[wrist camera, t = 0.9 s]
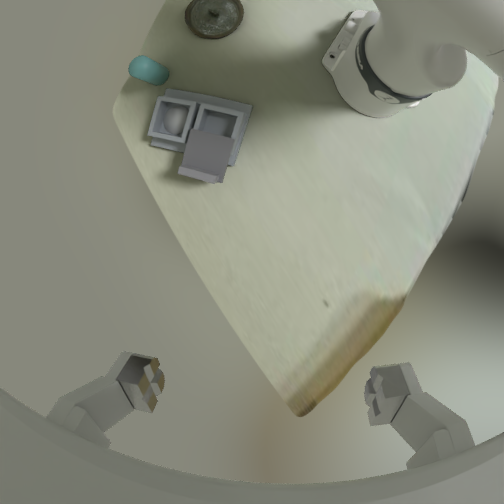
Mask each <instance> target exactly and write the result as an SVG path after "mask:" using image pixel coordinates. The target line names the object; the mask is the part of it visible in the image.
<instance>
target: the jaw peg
mask: <svg viewBox="0 0 504 504" xmlns="http://www.w3.org/2000/svg"><path fill="white" fill-rule="evenodd" d="M129 74H130V75H131V76H133V77H135V78H138V79H141V80H143V81H146V82H148V83H151V84H153V85H161V84H163V83H164V82H165V81H166V80H167V79H168V76H169V71H168V69H167V68H166V67H164V66H162V65H161V64H159V63H157V62H155V61H154V60H152V59H150V58H148V57H146V56H143V55H142V56H138V57H136V58H134V59H133V60H132V62H131V63H130V65H129Z"/></svg>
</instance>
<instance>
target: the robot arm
mask: <svg viewBox="0 0 504 504" xmlns="http://www.w3.org/2000/svg"><path fill="white" fill-rule="evenodd" d="M373 1H374V3H375V4H376V6H377V8H378V10H379V12H376V11H364V10H355V11H353V12H352V14H351V15H350V16H349V18H348V19H347V21H346V22H345V24H344V26H343V27H342V29H341V30H340V32H339V33H338V35H337V36H336V38H335V39H334V41H333V43H332V44H331V46H330V47H329V49H328V50H327V52H326V54H325V55H324V57H323V59H322V64H323V66H324V67H325V68H326V69H327V70H328V72H329V73H330V74H331V75H332V77H333V79H334V82H335V85H336V87H337V90H338V91H339V93H340V95H341V96H342V98H343V99H344V100H345V101H346V102H347V103H348V104H349V105H350V106H351V107H352V108H354V109H355V110H357V111H358V112H360V113H362V114H364V115H367V116H370V117H376V118H384V117H389V116H392V115H394V114H396V113H398V112H399V111H401V110H402V109H404V108H412V107H415V106H417V105H418V104H419V101H420V100H423V99H425V98H427V97H428V96H430V95H431V94H432V93H434V92H437V91H441V90H444V89H448V88H451V87H453V86H455V85H457V84H458V83H459V82H460V80H461V79H462V78H463V76H464V74H465V71H466V68H467V54H466V50H467V51H468V52H470V53H472V54H474V55H475V56H476V57H477V58H479V59H480V60H481V61H482V62H483V63H484V64H486V65H487V66H488V67H489V68H490V69H491V70H492V71H493V72H494V73H495V74H497V75H498V76H499V77H500V78H501V79H502V80H503V81H504V0H373ZM465 49H466V50H465ZM330 55H332V56H334V58H331V57H330ZM159 365H160V363H159V361H158V358H155V357H150V356H145V355H140V354H136V353H131V352H126V351H124V352H122V353H121V354H120V355H119V357H118V358H117V360H116V361H115V362H114V364H113V365H112V367H111V368H110V370H109V371H108V373H107V374H106V376H105V377H103V376H101V377H99V378H97V379H95V380H94V381H92V382H90V383H88V384H86V385H84V386H82V387H80V388H78V389H76V390H74V391H72V392H70V393H68V394H66V395H64V396H62V397H60V398H59V400H58V401H57V402H56V404H55V405H54V407H53V408H52V410H51V411H50V413H49V414H48V416H47V417H44V416H43V415H41V414H39V413H38V412H36V411H35V410H33V409H31V408H30V407H28V406H27V405H25V404H24V403H22V402H21V401H20V400H18V399H16V398H15V397H14V396H12V395H11V394H10V393H8V392H7V391H6V390H5V389H3V388H2V387H0V504H504V432H503V433H501V434H499V435H497V436H495V437H493V438H491V439H489V440H487V441H485V442H483V443H481V444H479V445H476V446H475V444H474V441H473V438H472V436H471V433H470V431H469V428H468V425H467V423H466V421H465V420H464V419H463V418H461V417H460V416H458V415H457V414H456V413H454V412H453V411H451V410H450V409H449V408H447V407H446V406H445V405H443V404H442V403H440V402H439V401H438V400H436V399H435V398H434V397H432V396H431V395H429V394H428V393H426V392H424V393H423V391H422V389H421V387H420V384H419V382H418V379H417V377H416V375H415V372H414V370H413V368H412V365H411V364H410V363H409V362H407V363H400V364H391V365H383V366H374V367H373V368H372V369H371V371H370V376H371V378H370V379H369V380H368V381H367V382H366V386H365V393H364V394H365V402H366V404H367V405H368V406H369V407H370V408H369V411H368V417H369V422H370V426H374V425H382V424H390V423H391V426H392V427H393V428H394V429H395V430H396V431H397V432H398V433H399V434H400V435H401V436H402V437H403V439H404V440H405V441H406V442H407V443H408V444H409V445H410V446H411V447H412V448H413V449H414V450H415V451H416V453H415V454H414V455H413V456H412V458H410V459H409V461H408V462H407V464H406V465H407V470H404V471H400V472H395V473H391V474H386V475H381V476H376V477H370V478H364V479H358V480H349V481H340V482H329V483H313V484H271V483H269V484H268V483H253V482H243V481H234V480H226V479H219V478H212V477H207V476H201V475H196V474H191V473H186V472H182V471H178V470H174V469H169V468H166V467H162V466H158V465H155V464H152V463H148V462H145V461H142V460H139V459H135V458H133V457H130V456H127V455H124V454H122V453H119V452H116V451H114V450H111V449H109V446H110V444H111V442H110V440H109V439H108V438H107V437H106V435H105V434H104V432H105V431H106V430H108V429H109V428H111V427H112V426H113V425H115V424H116V423H117V422H118V421H120V420H122V419H123V418H124V417H126V416H127V415H128V414H130V413H131V412H132V411H134V409H136V410H140V411H145V412H149V413H153V410H154V408H155V406H156V404H157V402H158V400H157V397H156V396H158V395H159V394H161V393H162V391H163V388H164V383H165V380H164V379H165V378H164V374H163V372H162V371H161V370H160V369H159V368H158V367H159Z"/></svg>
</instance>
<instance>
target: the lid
mask: <svg viewBox="0 0 504 504" xmlns="http://www.w3.org/2000/svg"><path fill="white" fill-rule="evenodd" d="M243 14H244V9H243V6H242V4H241V2H240V0H193V1H192V2H191V3H190V4H189V5H188V7H187V9H186V11H185V21H186V24H187V25H188V27H189V28H190V30H191V31H192V32H193V33H194V34H195V35H198V36H200V37H202V38H212V39H217V38H221V37H225V36H227V35H229V34H231V33H232V32H233V31H234V30H236V29H237V27H238V26H239V25H240V23H241V21H242V18H243Z"/></svg>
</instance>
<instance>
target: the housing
mask: <svg viewBox="0 0 504 504" xmlns="http://www.w3.org/2000/svg"><path fill="white" fill-rule="evenodd" d="M252 108H253V106H252V105H249V104H245V103H241V102H237V101H232V100H228V99H224V98H219V97H214V96H209V95H204V94H199V93H194V92H188V91H182V90H175V89H168V88H166V91H165V94H164V96H158V98H157V101H156V105H155V108H154V112H153V115H152V119H151V123H150V127H149V130H148V134H147V135H148V136H153V137H152V142H151V145H153V146H157V147H161V148H166V149H170V150H174V151H178V152H182V153H184V152H185V149H186V145H187V141H188V138H189V134H190V130H191V128H192V129H196V130H201V131H205V132H209V133H213V134H217V135H221V136H225V137H229V138H232V139H235V142H234V145H233V149H232V152H231V155H230V159H229V162H228V165H231V166H235V162H236V159H237V156H238V153H239V149H240V146H241V143H242V140H243V136H244V133H245V130H246V127H247V124H248V121H249V118H250V114H251V111H252Z"/></svg>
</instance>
